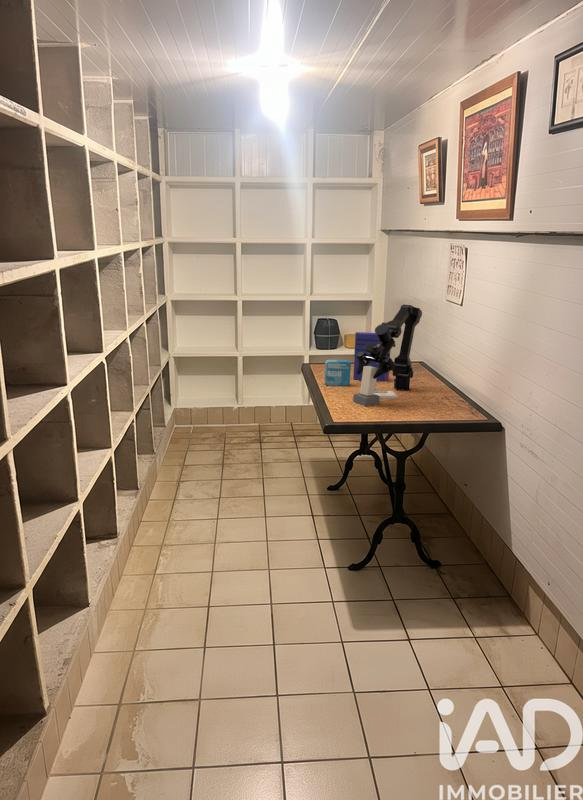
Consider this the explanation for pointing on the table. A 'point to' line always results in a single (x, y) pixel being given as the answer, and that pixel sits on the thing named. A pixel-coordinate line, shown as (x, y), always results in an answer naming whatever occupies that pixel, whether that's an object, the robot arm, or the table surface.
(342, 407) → the table surface
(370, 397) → the charcoal slab
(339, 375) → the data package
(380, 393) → the tile
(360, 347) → the cereal box
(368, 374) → the cream block
